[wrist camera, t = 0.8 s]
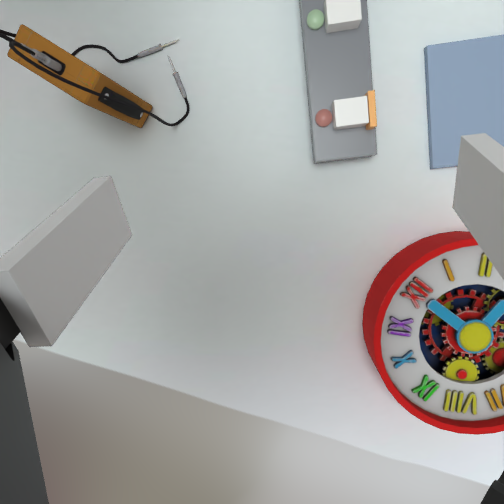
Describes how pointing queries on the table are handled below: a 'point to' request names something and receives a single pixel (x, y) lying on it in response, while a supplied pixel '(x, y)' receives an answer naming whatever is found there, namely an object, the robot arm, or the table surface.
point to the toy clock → (441, 333)
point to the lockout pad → (463, 95)
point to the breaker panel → (339, 79)
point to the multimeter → (83, 76)
